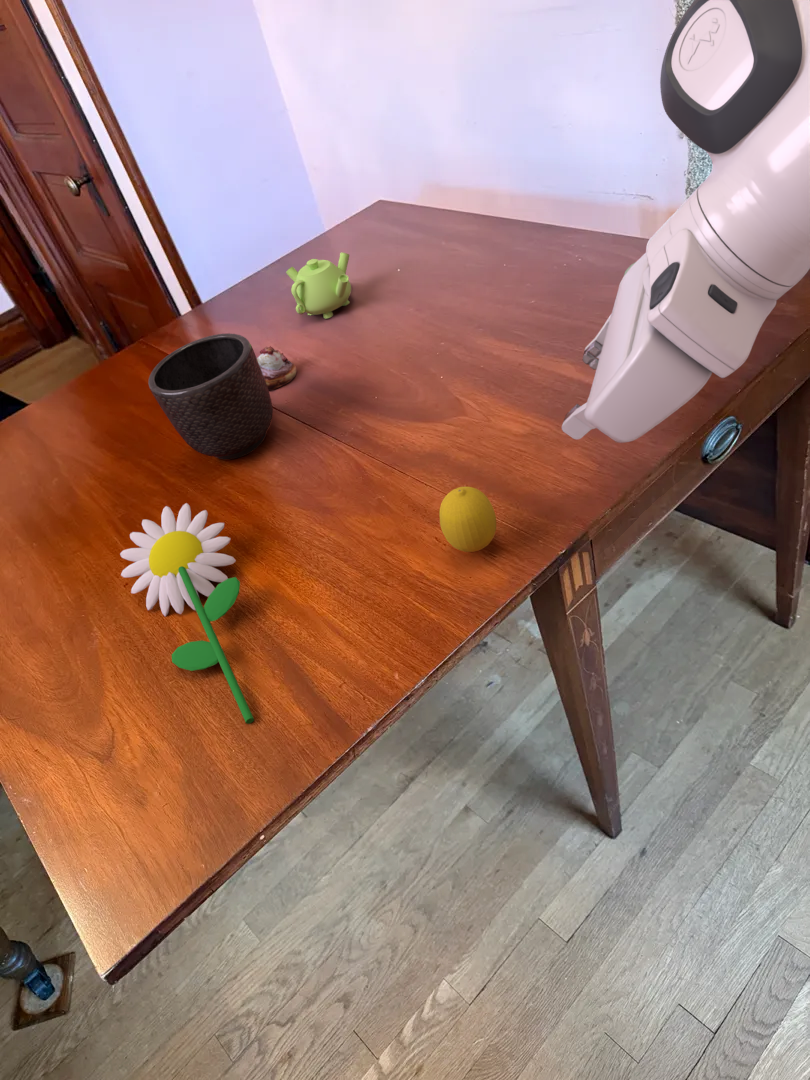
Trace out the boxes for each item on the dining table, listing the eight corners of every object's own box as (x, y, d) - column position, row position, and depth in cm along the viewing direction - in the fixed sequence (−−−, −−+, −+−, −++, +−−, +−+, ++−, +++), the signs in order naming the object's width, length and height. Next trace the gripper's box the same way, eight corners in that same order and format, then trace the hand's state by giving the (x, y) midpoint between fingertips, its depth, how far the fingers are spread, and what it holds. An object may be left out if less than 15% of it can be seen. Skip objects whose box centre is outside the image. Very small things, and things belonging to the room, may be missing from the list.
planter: (250, 479, 96) (207, 396, 88) (173, 469, 103) (125, 391, 94) (305, 414, 104) (270, 332, 96) (229, 409, 111) (190, 332, 102)
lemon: (445, 568, 76) (426, 511, 70) (454, 530, 79) (437, 472, 74) (498, 567, 74) (483, 508, 69) (505, 528, 78) (492, 469, 72)
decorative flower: (320, 696, 71) (219, 510, 90) (302, 673, 67) (201, 484, 86) (202, 771, 69) (125, 565, 88) (177, 751, 66) (102, 541, 84)
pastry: (306, 367, 114) (295, 338, 111) (276, 396, 110) (263, 367, 107) (269, 362, 118) (257, 334, 115) (238, 390, 114) (225, 362, 111)
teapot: (295, 332, 124) (276, 285, 118) (298, 301, 132) (281, 256, 126) (359, 314, 122) (343, 265, 116) (359, 284, 131) (344, 237, 125)
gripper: (689, 175, 56) (571, 305, 66) (662, 317, 43) (522, 450, 53) (751, 227, 57) (626, 346, 67) (744, 380, 44) (590, 498, 55)
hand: (580, 393), depth 60 cm, fingers open, 8 cm apart
